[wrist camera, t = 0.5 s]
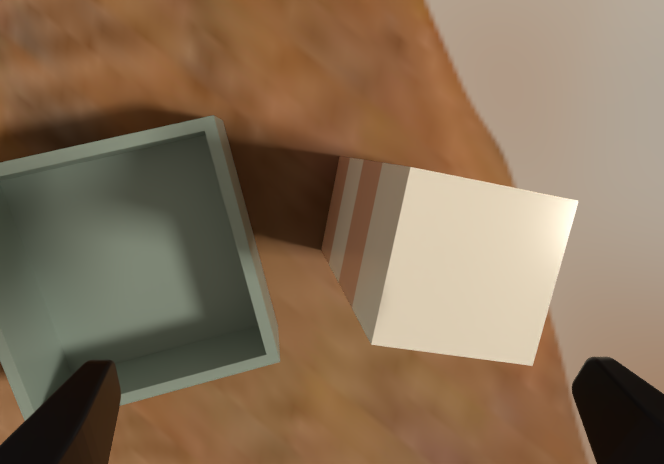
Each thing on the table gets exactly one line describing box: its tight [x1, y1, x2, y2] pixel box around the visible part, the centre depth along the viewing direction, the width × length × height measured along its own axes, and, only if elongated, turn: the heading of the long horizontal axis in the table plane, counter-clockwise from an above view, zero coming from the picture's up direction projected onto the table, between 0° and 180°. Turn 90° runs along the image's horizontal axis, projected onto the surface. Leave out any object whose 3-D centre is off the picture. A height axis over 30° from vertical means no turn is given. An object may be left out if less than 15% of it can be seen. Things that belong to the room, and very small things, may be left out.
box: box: [0, 115, 280, 421], centre depth 21 cm, size 11×11×4 cm
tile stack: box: [321, 156, 578, 366], centre depth 19 cm, size 5×5×12 cm
